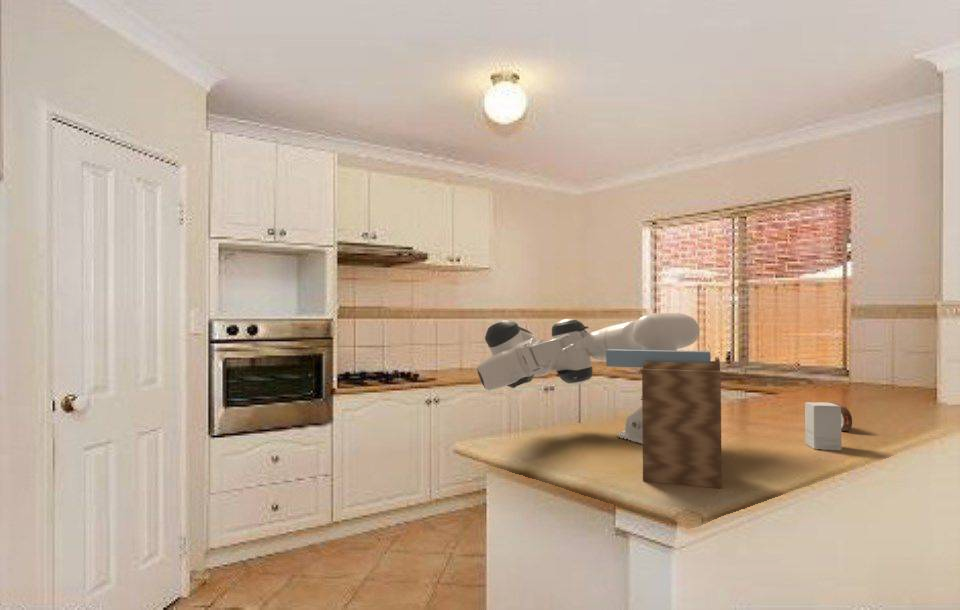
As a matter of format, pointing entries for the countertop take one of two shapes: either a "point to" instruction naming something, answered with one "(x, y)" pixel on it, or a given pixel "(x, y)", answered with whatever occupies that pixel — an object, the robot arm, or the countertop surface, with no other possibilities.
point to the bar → (653, 357)
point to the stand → (682, 423)
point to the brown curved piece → (845, 418)
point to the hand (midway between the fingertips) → (582, 334)
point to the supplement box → (823, 425)
